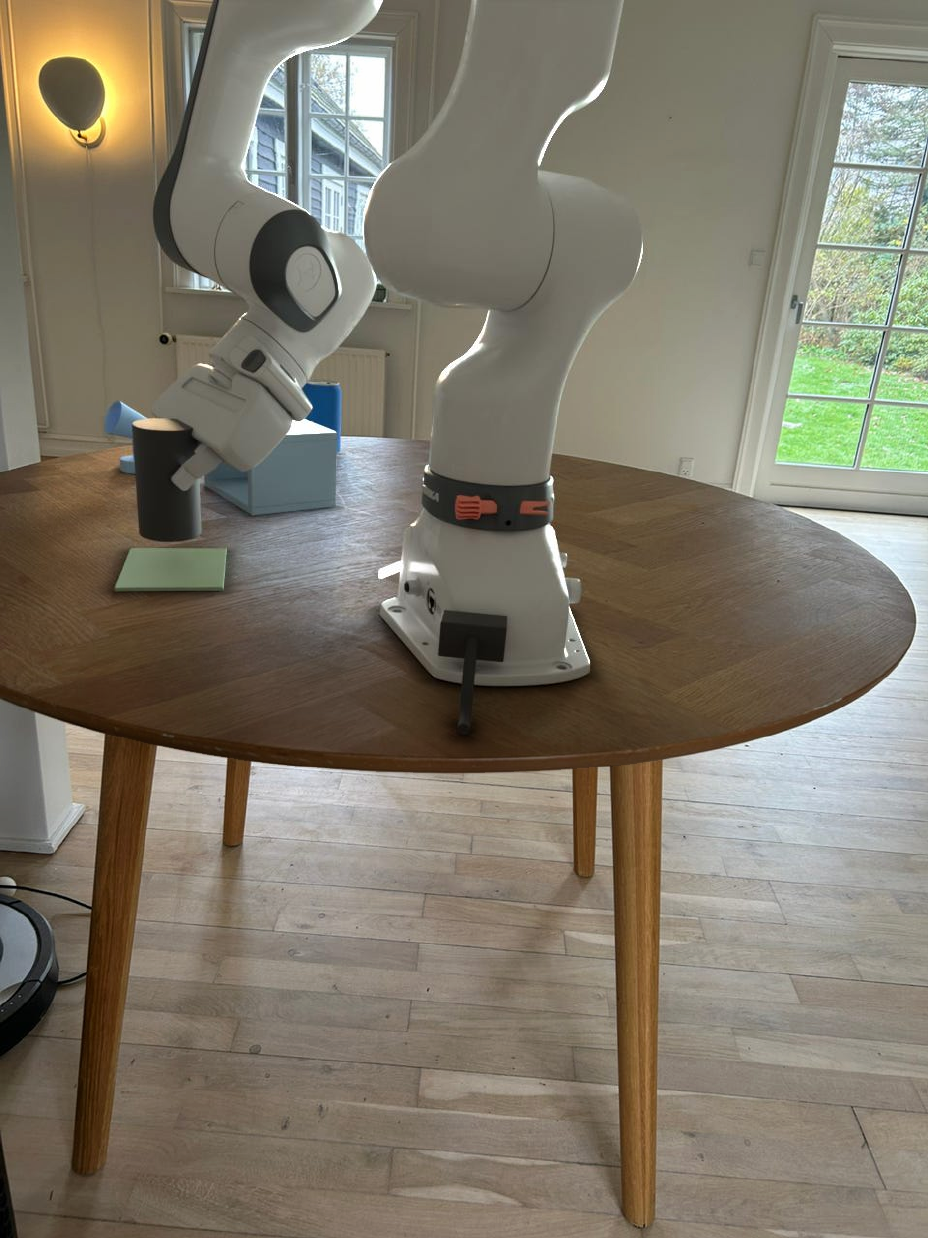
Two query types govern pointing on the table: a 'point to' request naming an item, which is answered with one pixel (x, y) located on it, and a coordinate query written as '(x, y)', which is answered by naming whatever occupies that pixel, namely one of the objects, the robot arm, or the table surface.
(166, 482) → the dark grey cylinder
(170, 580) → the mat
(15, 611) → the table surface
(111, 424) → the spotlight
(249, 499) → the shelf
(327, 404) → the beverage can
